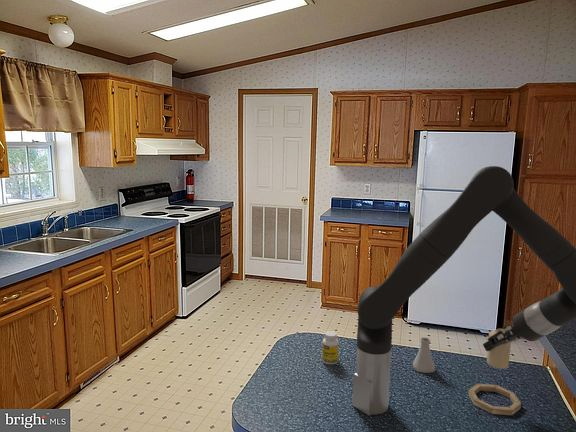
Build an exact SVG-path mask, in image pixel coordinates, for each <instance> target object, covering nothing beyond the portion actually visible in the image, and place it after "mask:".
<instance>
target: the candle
mask: <svg viewBox="0 0 576 432" xmlns="http://www.w3.org/2000/svg"><path fill="white" fill-rule="evenodd" d="M502 330H504V329H503V328H496V329H493V330H491V331H489V332H488V338H489V337H491V336H493V335H494V334H496V333H497V332H498V331H502ZM504 333H505V332H504ZM506 341H508V340H506ZM511 344H512V343H509V344H507V345H503V344H502V345H500V346H499V347H496V348H494V349H492V350H490V351H486V352H487V353H486V363H487V364H488V365H489V366H490V367H492V368H495V369H501V370H503V369H508V367H509V365H510V356H511V355H510V354H511Z"/></svg>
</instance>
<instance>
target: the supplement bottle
mask: <svg viewBox="0 0 576 432" xmlns="http://www.w3.org/2000/svg"><path fill="white" fill-rule="evenodd" d="M337 335H338V333H336V332H335V331H332V330H327V331H325V332H324V338H323V340H322V348H321V350H322V351H321V361H322V362H323V363H324V364H326V365H335V364H337V363H339V339H338V338H337V337H338V336H337Z"/></svg>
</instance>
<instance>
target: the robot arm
mask: <svg viewBox="0 0 576 432" xmlns="http://www.w3.org/2000/svg"><path fill="white" fill-rule="evenodd" d="M512 176H513V175H512V174H511V173H510V171H508V170H507V169H505V168H504V167H501V166H496V165H490V166H486V167H482V168H481V169H479V170H477V171H476V172H475V174H474V175H473V176H472V178H471V179H470V181H469V182H468V184H467V185H466V186H465V188H464V190H462V192H461V193H460V194H459V195H458V197H457V198H456V200H455V201H454V202H453V203H452V204H451V205H450V206H449V207H448V208H447V209H446V210H444V212H443V213H441V214H440V215H439V216H438V217H436V218H435V219H434V220H432V221H431V223H429V224H428V226H427V227H425V228H424V229H423V230H422V231H421V232H420V233H419V234H418V235H417V236H416V237H415V239H414V240H413V241H412V242H411V243H410V244H409V245H408V246H407V248H406V250H404V252H403V253H402V255H401V257H400V259H399V260H398V261H397V263H396V265H395V266H394V268H393V270H391V273H390V274H389V275H388V277H387V278H386V279H385V280H384V281H383V282H382V283H380V285H379V286H377V285H376V286H374V285H373V286H370V287H368V288H366V289H365V290H363V291H362V292H361V294H360V295H359V299H358V304H357V331H356V332H357V333H356V354H355V355H356V357H355V359H356V360H355V362H356V363H355V373H353V377H352V380H353V381H352V406H353V407H354V408H356V409H358V410H359V411H360V412H362V413H364V414H365V415H366V416H372V415H381V414H384V413H386V412H387V411H388V409H389V400H390V399H389V398H390V381H391V363H392V361H391V359H392V343H393V342H392V341H393V319H394V318H395V316H396V315H397V314H398V312H399V311H400V310H401V309H402V307H403V306H404V305H405V303H406V302H407V301H408V300H409V299H410V297H411V296H413V294H414V293H416V291H418V290H419V289H420V288H421V287H422V286H423V285H424V284H425V283H426V282H427V281H428V280H429V279H431V278H432V276H433V275H434V274H436V272H438V270H439V269H440V268H441V267H443V265H444V264H445V263H446V262H447V261H449V260H450V259H451V257H452V256H453V255H454V254H455V253H456V251H457V250H458V249H459V248H460V247H461V245H463V243H464V242H465V241H466V239H467V238H468V236H469V235H470V234H471V232H472V231H473V229H474V228H475V227H476V226H477V225H478V224H480V222H481V221H482V220H484V218H486V217H487V216H488V215H490V214H491V212H493V213H495V214H496V215H497V216H498V217H499V218H501V220H503V221H504V222H505V223H506V224H507V225H508V226H509V227H510V228H511V229H512V230H513V231H514V232H515V233H516V234H517V235H518V236H519V237H520V239H521V240H522V241H523V242H524V243H525V244H526V245H527V247H528V248H529V249H530V250H531V251H532V252H533V253H534V254H535V256H536V257H538V259H540V261H541V262H542V263H543V264H544V265H545V266H546V267H547V268H548V269H549V270H550V271H552V272H553V274H554V276H555V277H556V280H557V281H558V282H559V284H560V286H561V288H560V289H559V290H557V291H555V292H553V293H552V294H550V295H548V296H547V297H545V298H543V299H542V300H539V301H537V302H535V303H533V304H531V305H530V306H528V307H526V308H525V309H523V310H521V311H520V312H518V313H516V314H515V315H514V316H513V318H512V324H511V325H508V326H507V327H506V328H504V329H503V330H502V331H498V332H497V333H496V334H494V335H493V336H491V337H489V336H488V338H487V341H485V342H484V343H483V344H482V346H483V348H484V349H485V352H488V351H490V350H492V349H494V348H496V347H499V346H500V345H502V344H503V345H507V344H509V343H511V344H512V343H516V342H519V341H522V340H526V341H527V342H536V341H538V340H540V339H542V338H544V337H546V336H547V335H549V334H551V333H554V332H555V331H557V330H559V328H561V327H563V326H564V325H566V324H568V323H570V322H572V321H574V320H575V319H576V247H575V246H574V245H573V244H572V243H571V242H570V241H569V240H568V239H567V238H566V237H564V236H563V234H561V232H559V231H558V230H557V229H556V228H555V227H554V226H553V225H551V224H550V223H549V222H548V221H547V220H545V219H544V218H543V217H541V215H539V214H538V213H537V212H535V211H534V210H533V209H532V208H531V207H530V206H529V205H528V204H527V203H526V202H525V201H524V200H523V198H521V196H520V195H519V193H518V192H517V191H516V189H515V187H514V183H515V182H514V179H513V177H512ZM504 332H505V333H504ZM506 340H508V341H506Z"/></svg>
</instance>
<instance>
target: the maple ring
mask: <svg viewBox="0 0 576 432" xmlns="http://www.w3.org/2000/svg"><path fill="white" fill-rule="evenodd" d="M481 391H483V392H494V393H498V394H499V395H502V396H504V397H506V398H508V399H510V401H511V403H512V404H511V405H510V406H497V405H495V406H494V405H491V404H490V403H487V402H485V401H483V400H481V399H480V398H478V396H477V394H478V393H479V392H481ZM468 396H469V398H470V400H471V401H472V403H473V405H474V406H476V407H477V408H480V409H482V410H483V411H486V412H487V413H490V414H492V415H506V416H513V415H515V413H516V412H518V411H519V410H520V409H521V408H522V402H521V401H520V399H519V398H518V396H517V395H516V394H515V392H513V391H511V390H509V389H507V388H504V387H502V386H500V385H498V384H491V383H490V384H488V383H476V384H475V385H473V386H472V387H471V388H469V389H468Z"/></svg>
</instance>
